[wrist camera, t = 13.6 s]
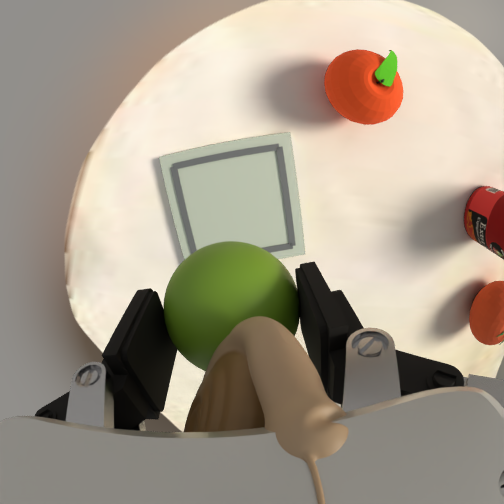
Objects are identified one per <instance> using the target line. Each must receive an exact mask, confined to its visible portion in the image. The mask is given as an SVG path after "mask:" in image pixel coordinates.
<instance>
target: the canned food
mask: <svg viewBox="0 0 504 504" xmlns="http://www.w3.org/2000/svg"><path fill="white" fill-rule="evenodd" d="M464 224H465V228H466V231H467V233H468V234H469V236H470V237H471V238H472V239H473V240H475V241H476V242H478V243H479V244H481V245H483V246H484V247H486V248H487V249H489V250H490V251H492V252H493V253H495V254H496V255H498V256H499V257H501V258H502V259H504V192H503V191H501V190H498V189H495V188H493V187H490V186H484V187H480V188H478V189H476V190H475V191H474V192H473V194H472V195H471V196H470V198H469V200H468V203H467V205H466V209H465V215H464Z"/></svg>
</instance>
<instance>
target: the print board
mask: <svg viewBox="0 0 504 504" xmlns="http://www.w3.org/2000/svg"><path fill="white" fill-rule="evenodd" d="M159 160H160V165H161V169H162V174H163V178H164V183H165V187H166V191H167V195H168V199H169V204H170V208H171V212H172V216H173V220H174V223H175V227H176V231H177V235H178V239H179V242H180V246H181V250H182V253H183V257H184V260H185V259H186V258H187V257H188V256H190V255H191V254H192V253H194V252H195V251H197V250H199V249H201V248H203V247H205V246H208V245H211V244H214V243H218V242H226V241H237V242H244V243H249V244H252V245H255V246H258V247H260V248H262V249H264V250H266V251H268V252H269V253H271V254H272V255H273V256H275V257H276V258H277V259H281V258H287V257H293V256H298V255H304V254H305V245H304V235H303V226H302V217H301V208H300V200H299V192H298V184H297V176H296V169H295V162H294V155H293V148H292V142H291V135H290V132H288V133H280V134H272V135H265V136H259V137H252V138H246V139H240V140H234V141H229V142H224V143H218V144H213V145H208V146H204V147H199V148H195V149H190V150H186V151H182V152H177V153H173V154H169V155H165V156H161V157H159Z"/></svg>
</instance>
